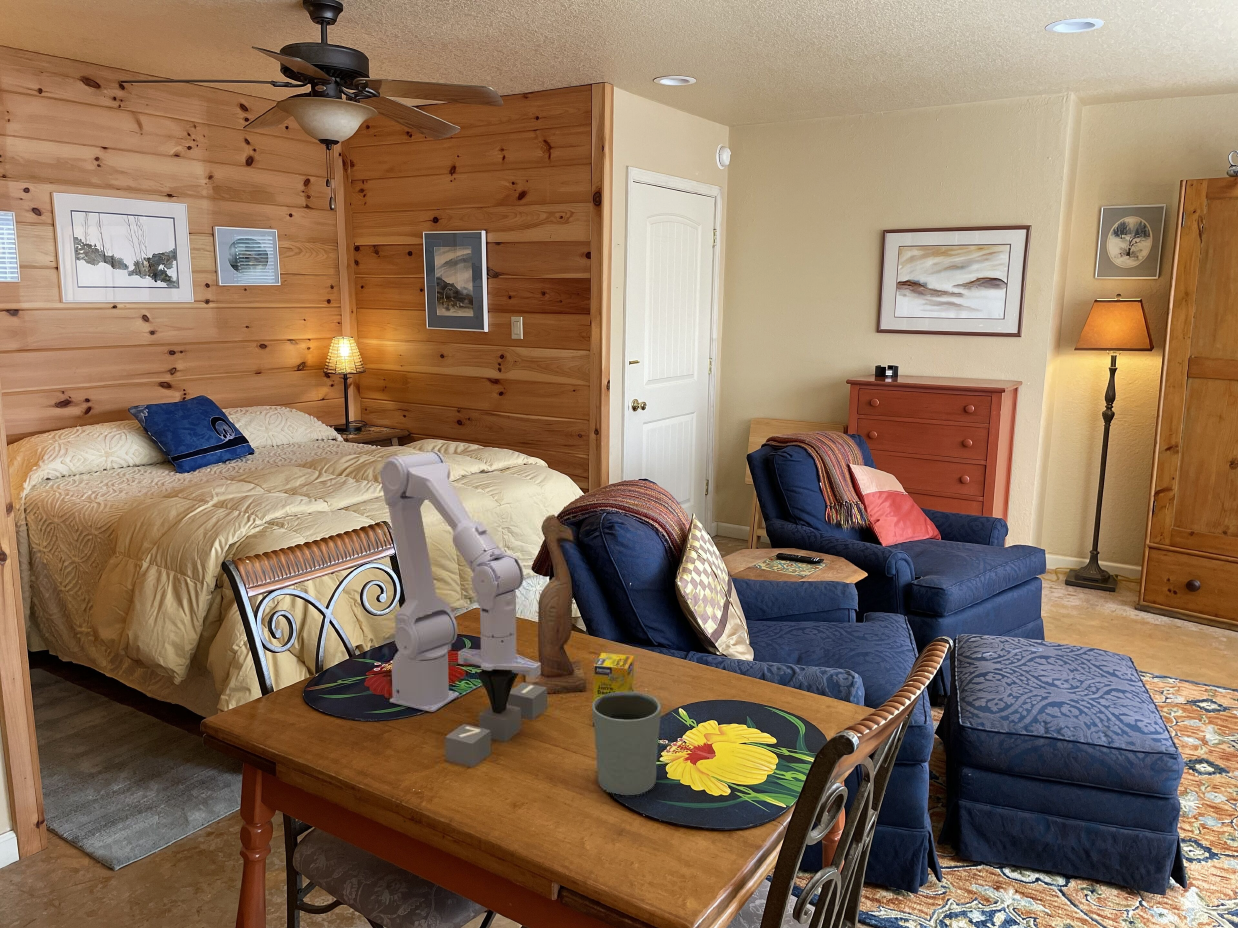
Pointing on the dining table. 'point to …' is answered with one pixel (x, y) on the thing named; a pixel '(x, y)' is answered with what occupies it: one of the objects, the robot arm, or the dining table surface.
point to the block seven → (468, 745)
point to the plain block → (501, 722)
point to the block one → (529, 699)
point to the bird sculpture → (556, 619)
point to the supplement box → (612, 674)
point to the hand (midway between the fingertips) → (499, 710)
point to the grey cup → (626, 741)
